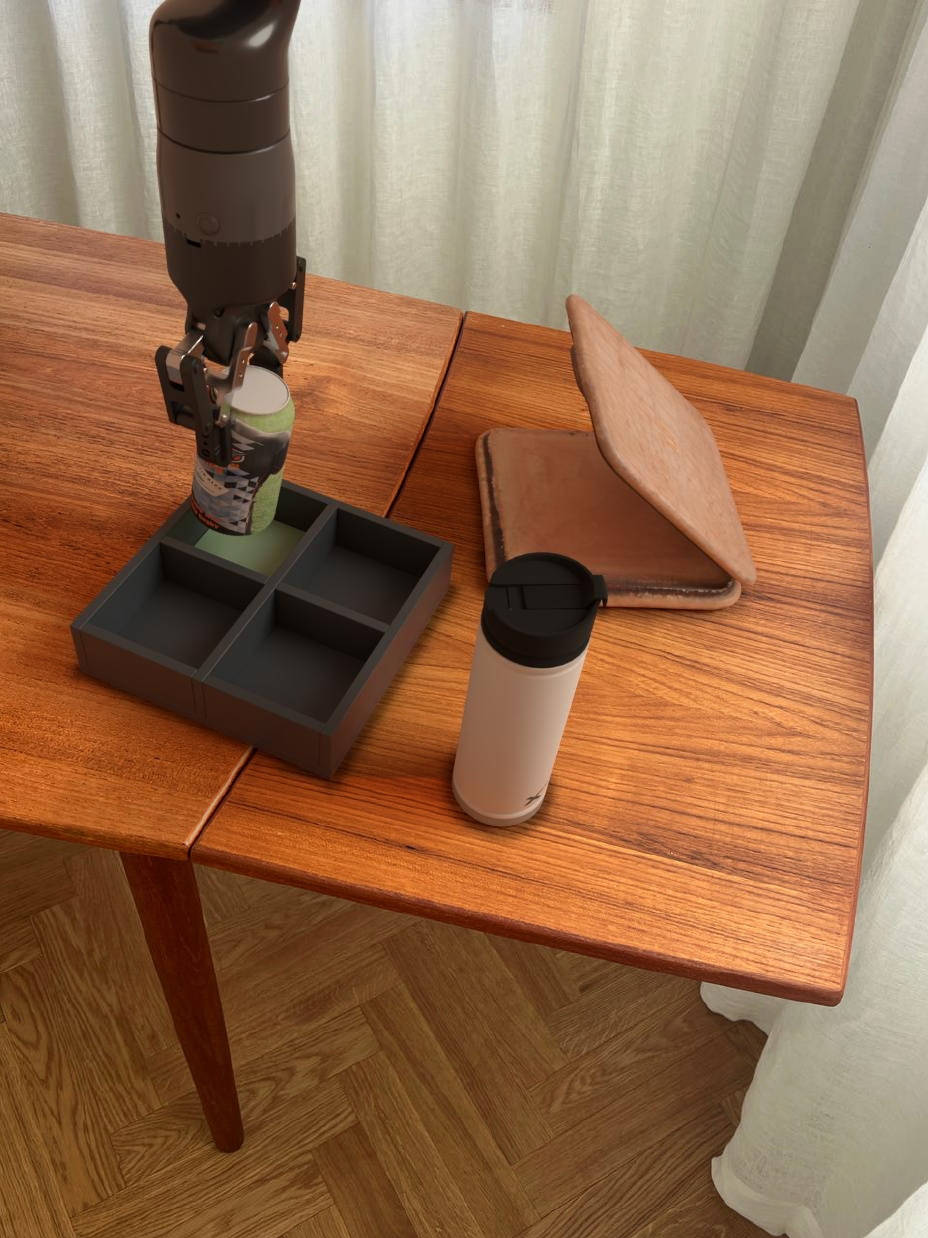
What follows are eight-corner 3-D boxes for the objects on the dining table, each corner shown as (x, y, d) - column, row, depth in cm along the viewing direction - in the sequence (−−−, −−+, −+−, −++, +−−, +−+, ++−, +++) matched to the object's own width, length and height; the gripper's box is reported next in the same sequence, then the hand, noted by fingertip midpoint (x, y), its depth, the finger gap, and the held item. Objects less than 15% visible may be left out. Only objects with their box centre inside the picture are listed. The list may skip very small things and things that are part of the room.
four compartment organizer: (80, 672, 77) (68, 625, 73) (228, 504, 89) (225, 456, 85) (330, 780, 73) (331, 737, 69) (448, 589, 86) (455, 544, 82)
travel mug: (554, 828, 73) (617, 630, 58) (454, 829, 72) (491, 628, 57) (543, 748, 77) (600, 544, 62) (448, 748, 76) (482, 541, 61)
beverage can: (185, 494, 82) (172, 359, 73) (284, 481, 84) (283, 348, 75) (199, 554, 78) (187, 420, 69) (303, 539, 80) (304, 407, 71)
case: (753, 617, 87) (824, 461, 75) (487, 610, 84) (516, 448, 72) (702, 446, 100) (756, 290, 88) (471, 435, 98) (494, 274, 86)
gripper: (237, 133, 68) (248, 360, 81) (95, 239, 59) (133, 476, 71) (346, 168, 67) (341, 393, 79) (218, 282, 57) (235, 516, 70)
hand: (242, 432), depth 75 cm, fingers closed on beverage can, 6 cm apart
